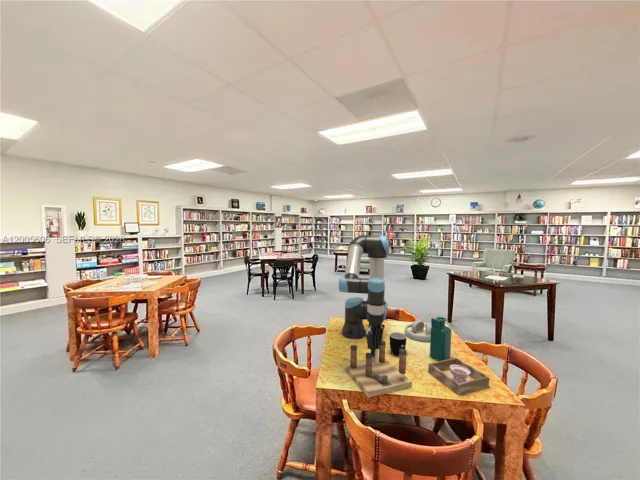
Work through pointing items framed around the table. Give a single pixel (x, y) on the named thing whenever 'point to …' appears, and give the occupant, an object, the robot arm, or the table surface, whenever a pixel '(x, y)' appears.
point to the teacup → (459, 373)
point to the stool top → (380, 368)
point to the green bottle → (440, 339)
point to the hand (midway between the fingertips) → (374, 362)
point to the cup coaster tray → (458, 388)
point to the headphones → (418, 327)
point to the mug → (397, 342)
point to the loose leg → (402, 361)
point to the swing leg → (369, 370)
